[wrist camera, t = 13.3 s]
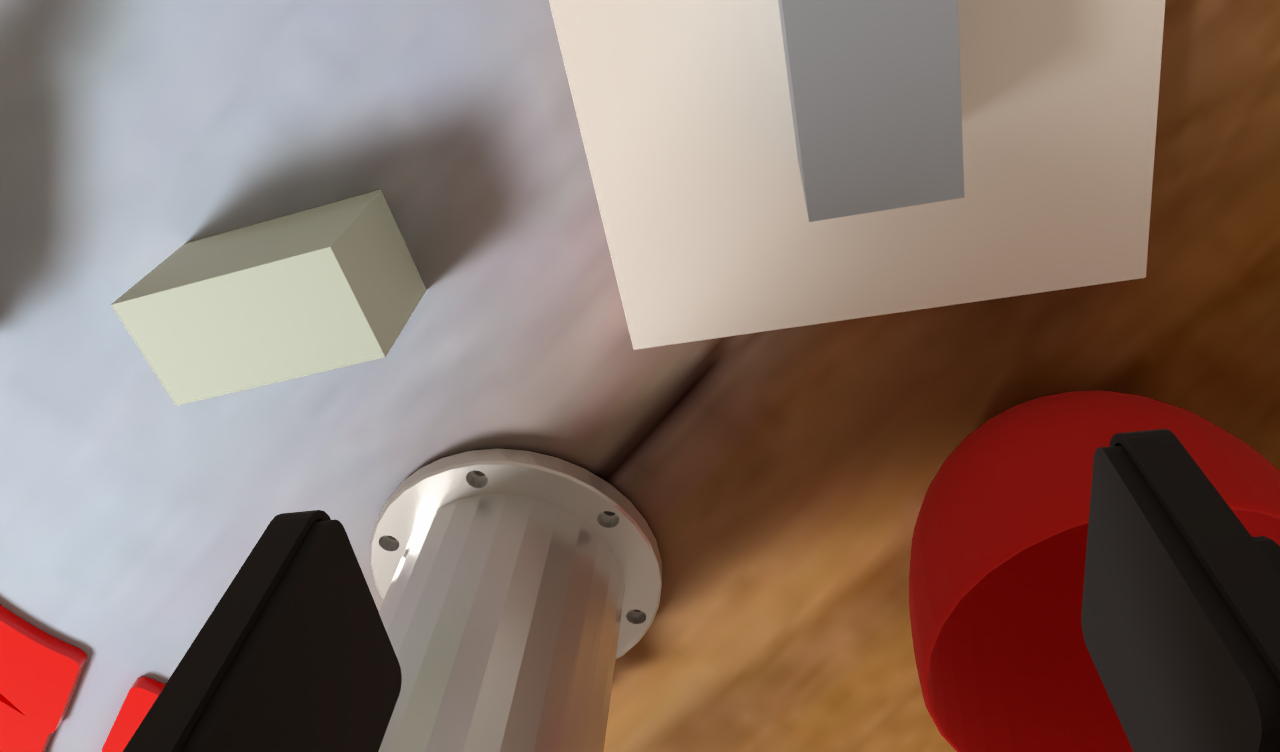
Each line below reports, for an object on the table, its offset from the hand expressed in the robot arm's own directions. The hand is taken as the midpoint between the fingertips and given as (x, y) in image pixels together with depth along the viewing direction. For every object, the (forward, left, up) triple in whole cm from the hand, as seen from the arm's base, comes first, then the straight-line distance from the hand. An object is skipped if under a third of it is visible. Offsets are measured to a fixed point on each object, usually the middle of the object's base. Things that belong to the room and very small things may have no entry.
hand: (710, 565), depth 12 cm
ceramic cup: (-18, -10, -22) cm, 30 cm away
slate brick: (+2, -4, -20) cm, 21 cm away
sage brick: (-3, +16, -22) cm, 27 cm away
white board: (+1, -4, -22) cm, 22 cm away
